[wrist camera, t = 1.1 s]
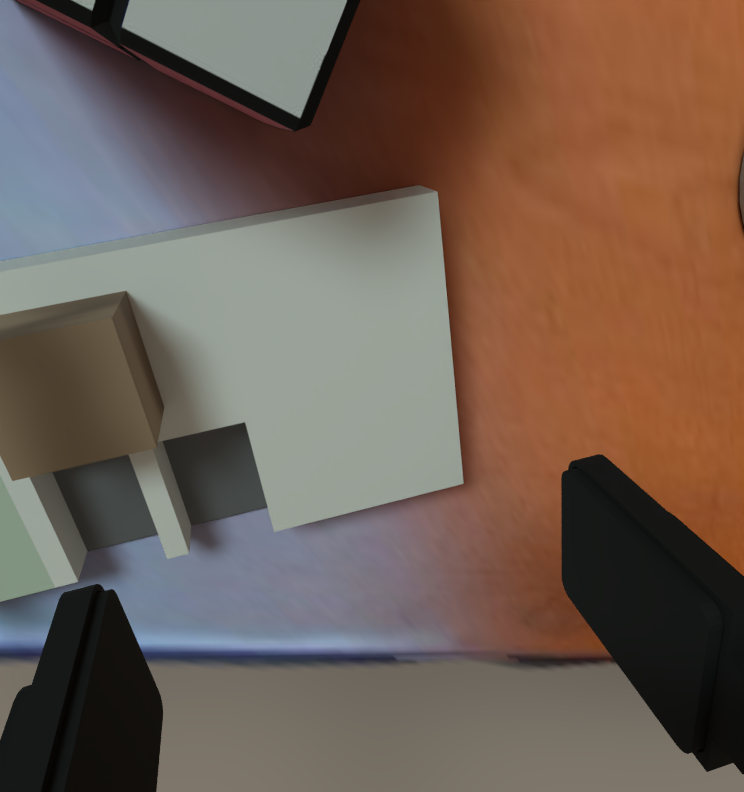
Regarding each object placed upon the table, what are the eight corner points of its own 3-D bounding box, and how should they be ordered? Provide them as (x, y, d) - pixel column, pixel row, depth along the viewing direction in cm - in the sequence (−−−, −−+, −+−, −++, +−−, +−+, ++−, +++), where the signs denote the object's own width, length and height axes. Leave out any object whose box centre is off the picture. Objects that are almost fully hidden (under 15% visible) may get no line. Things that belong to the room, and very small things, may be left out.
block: (126, 290, 23) (111, 317, 20) (164, 407, 25) (156, 447, 22) (-14, 317, 22) (-52, 350, 19) (38, 435, 25) (12, 481, 22)
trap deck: (419, 185, 26) (464, 201, 22) (446, 458, 33) (487, 519, 28) (-220, 300, 23) (-338, 351, 18) (-53, 582, 29) (-107, 676, 24)
